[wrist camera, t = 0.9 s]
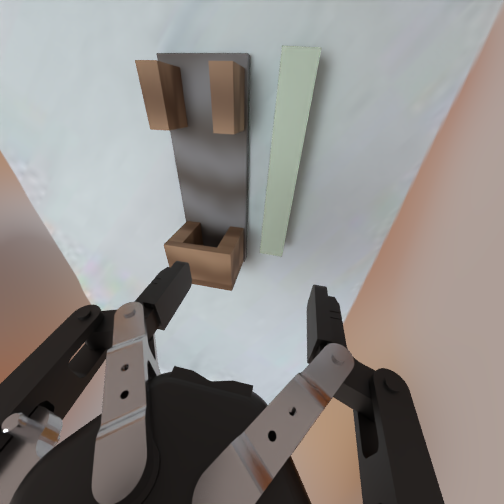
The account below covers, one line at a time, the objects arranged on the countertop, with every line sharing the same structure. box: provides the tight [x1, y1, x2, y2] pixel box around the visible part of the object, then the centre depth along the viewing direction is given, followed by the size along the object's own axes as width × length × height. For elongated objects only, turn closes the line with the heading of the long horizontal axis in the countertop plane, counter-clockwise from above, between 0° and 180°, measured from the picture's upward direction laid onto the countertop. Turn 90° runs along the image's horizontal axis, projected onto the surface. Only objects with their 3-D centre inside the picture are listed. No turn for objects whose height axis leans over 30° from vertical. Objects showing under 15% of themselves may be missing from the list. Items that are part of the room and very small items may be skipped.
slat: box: [260, 46, 321, 257], centre depth 23 cm, size 20×3×4 cm, turn 177°
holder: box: [135, 53, 250, 291], centre depth 24 cm, size 24×9×8 cm, turn 179°
